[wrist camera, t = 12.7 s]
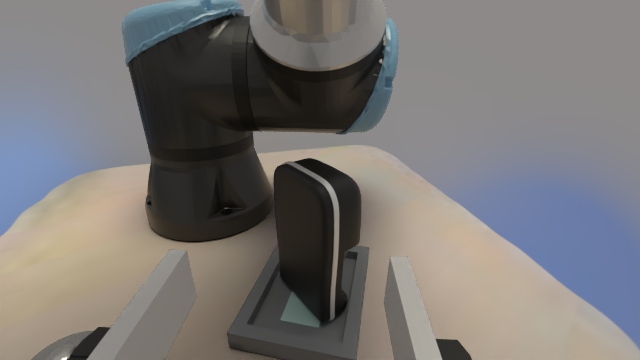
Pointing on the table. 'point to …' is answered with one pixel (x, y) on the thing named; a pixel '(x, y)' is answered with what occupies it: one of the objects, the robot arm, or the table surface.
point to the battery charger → (316, 232)
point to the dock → (300, 316)
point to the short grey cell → (62, 347)
